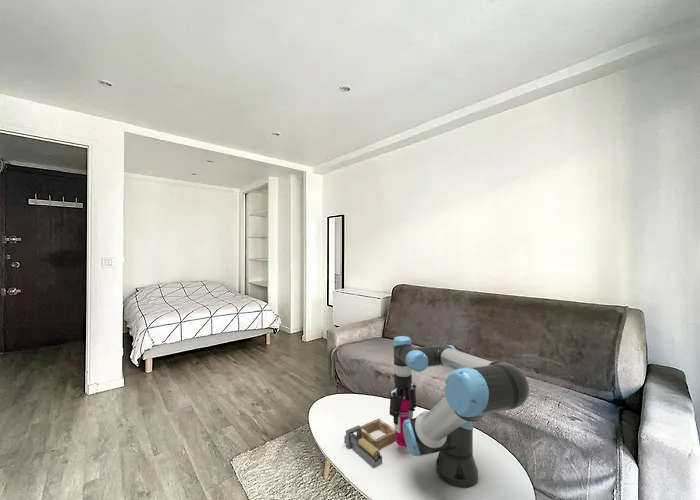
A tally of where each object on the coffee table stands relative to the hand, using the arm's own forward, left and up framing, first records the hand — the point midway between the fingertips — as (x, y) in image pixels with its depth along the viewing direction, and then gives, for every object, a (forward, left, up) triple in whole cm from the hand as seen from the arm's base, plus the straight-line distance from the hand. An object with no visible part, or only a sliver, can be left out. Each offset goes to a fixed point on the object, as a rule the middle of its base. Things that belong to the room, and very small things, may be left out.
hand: (403, 428), depth 130 cm
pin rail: (+9, +15, -9) cm, 20 cm away
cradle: (+12, +4, -9) cm, 16 cm away
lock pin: (+5, +15, -7) cm, 17 cm away
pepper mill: (0, 0, -6) cm, 6 cm away
